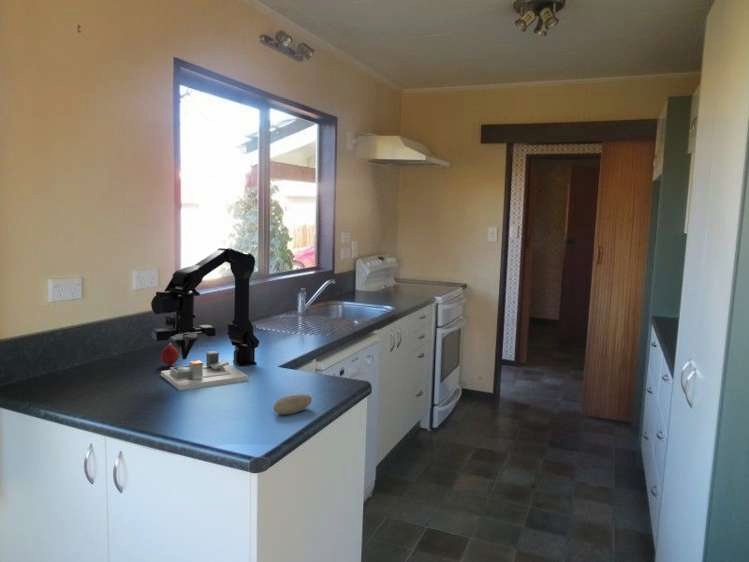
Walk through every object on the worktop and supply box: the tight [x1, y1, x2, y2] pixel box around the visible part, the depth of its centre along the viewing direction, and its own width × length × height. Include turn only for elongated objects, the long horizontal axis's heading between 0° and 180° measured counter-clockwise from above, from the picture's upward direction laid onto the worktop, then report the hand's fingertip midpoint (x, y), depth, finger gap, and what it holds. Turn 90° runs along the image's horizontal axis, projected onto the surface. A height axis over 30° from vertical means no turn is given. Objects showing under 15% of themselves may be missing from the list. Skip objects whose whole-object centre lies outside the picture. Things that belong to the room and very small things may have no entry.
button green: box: [177, 367, 190, 372], centre depth 181 cm, size 4×4×2 cm
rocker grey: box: [210, 359, 230, 369], centre depth 189 cm, size 5×4×1 cm
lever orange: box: [188, 359, 204, 380], centre depth 178 cm, size 3×3×5 cm
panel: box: [160, 364, 249, 391], centre depth 184 cm, size 22×18×4 cm
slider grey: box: [205, 350, 220, 368], centre depth 191 cm, size 3×3×5 cm
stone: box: [273, 393, 313, 416], centre depth 156 cm, size 6×6×12 cm
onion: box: [160, 342, 180, 367], centre depth 196 cm, size 6×6×8 cm
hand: (184, 359), depth 181 cm, fingers closed
